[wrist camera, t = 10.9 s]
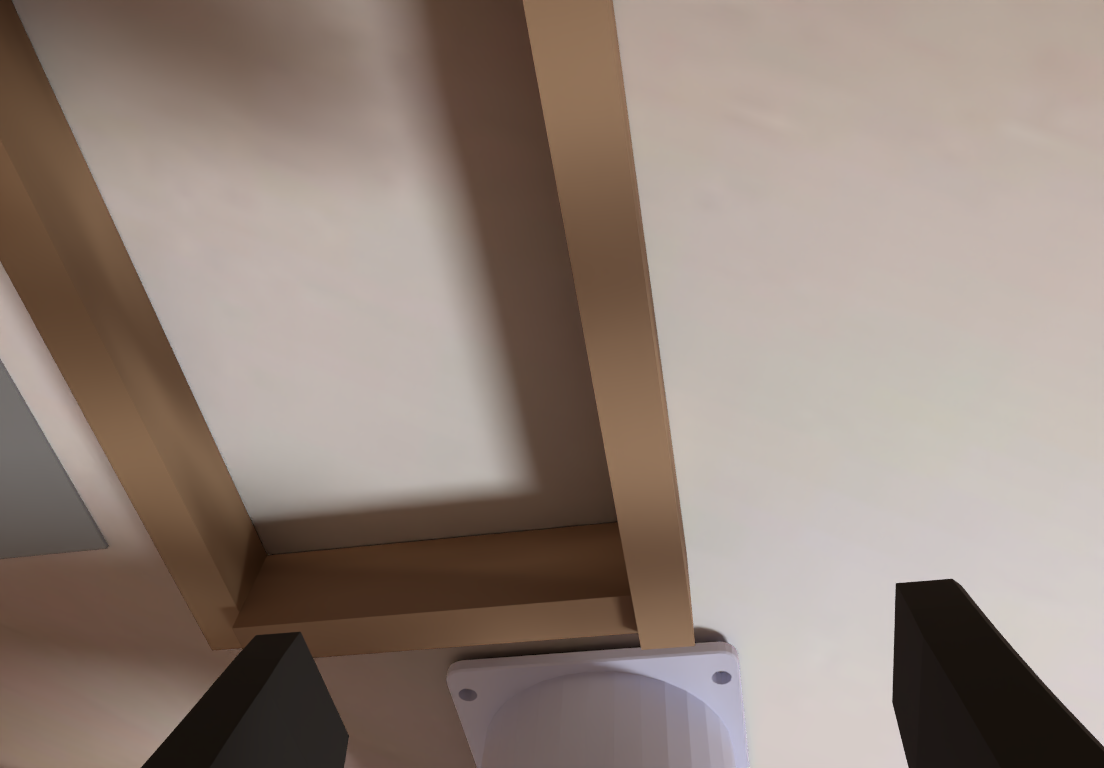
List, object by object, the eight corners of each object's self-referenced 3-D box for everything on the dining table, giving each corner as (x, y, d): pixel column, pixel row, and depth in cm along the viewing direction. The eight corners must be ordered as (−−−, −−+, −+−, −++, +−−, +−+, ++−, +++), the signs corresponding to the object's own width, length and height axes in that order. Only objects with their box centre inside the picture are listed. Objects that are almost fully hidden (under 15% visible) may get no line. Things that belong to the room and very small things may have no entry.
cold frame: (686, 552, 22) (695, 645, 20) (240, 592, 24) (195, 682, 22) (564, -359, 13) (552, -404, 10) (-145, -186, 15) (-303, -188, 12)
